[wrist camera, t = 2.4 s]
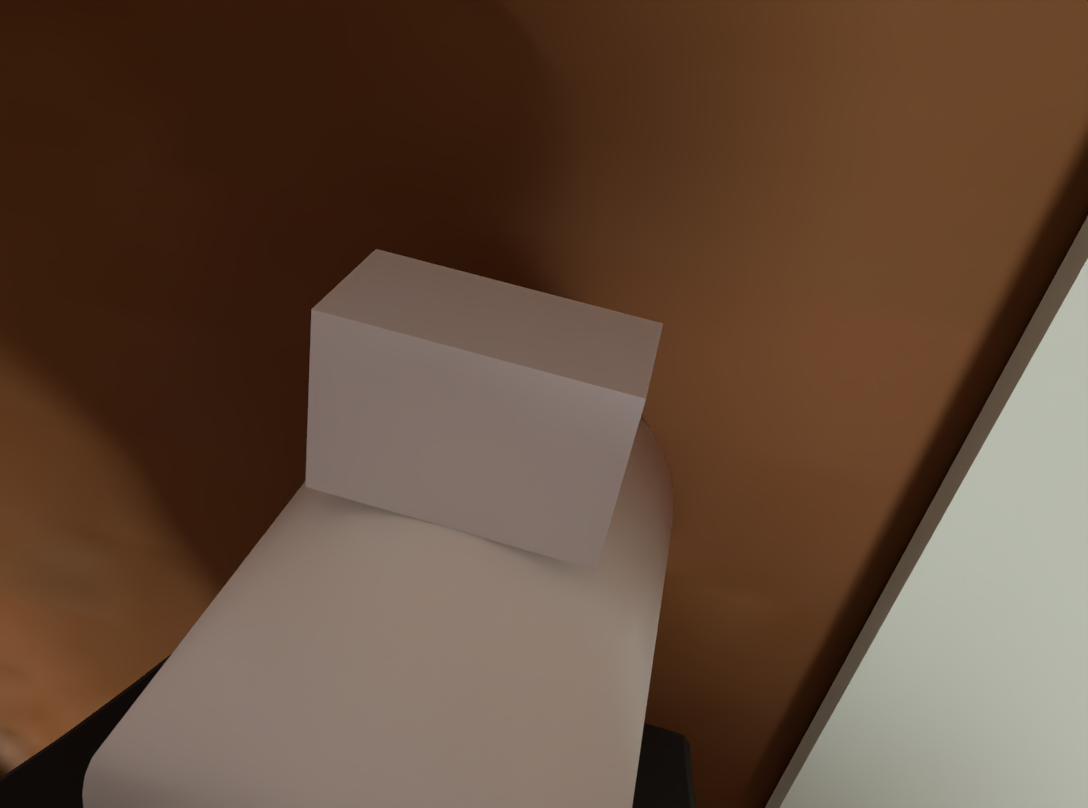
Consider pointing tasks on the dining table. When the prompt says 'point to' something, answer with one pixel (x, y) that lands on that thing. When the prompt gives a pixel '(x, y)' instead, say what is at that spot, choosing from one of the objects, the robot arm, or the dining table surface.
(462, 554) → the grey rounded piece
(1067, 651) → the mat
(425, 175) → the dining table surface
